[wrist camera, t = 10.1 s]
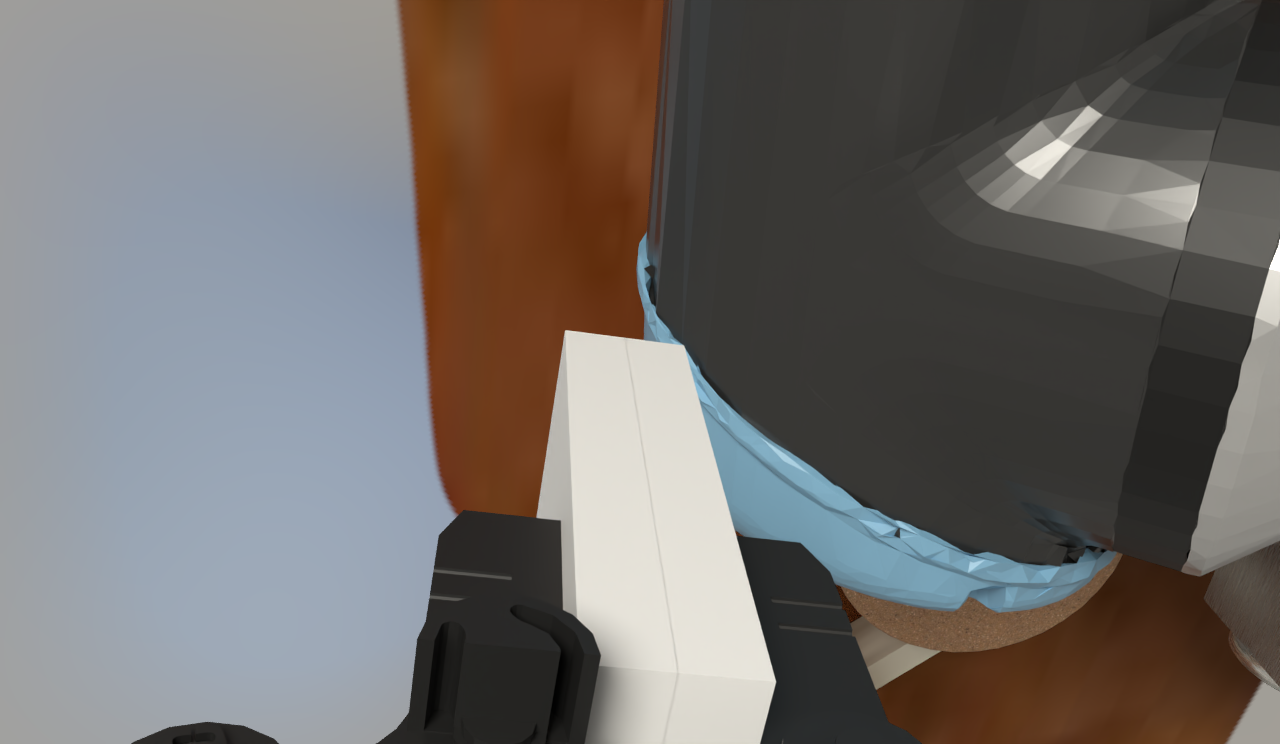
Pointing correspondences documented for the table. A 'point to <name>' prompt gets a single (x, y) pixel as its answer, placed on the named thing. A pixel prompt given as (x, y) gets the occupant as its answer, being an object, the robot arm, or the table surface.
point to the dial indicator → (1251, 610)
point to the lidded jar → (971, 619)
